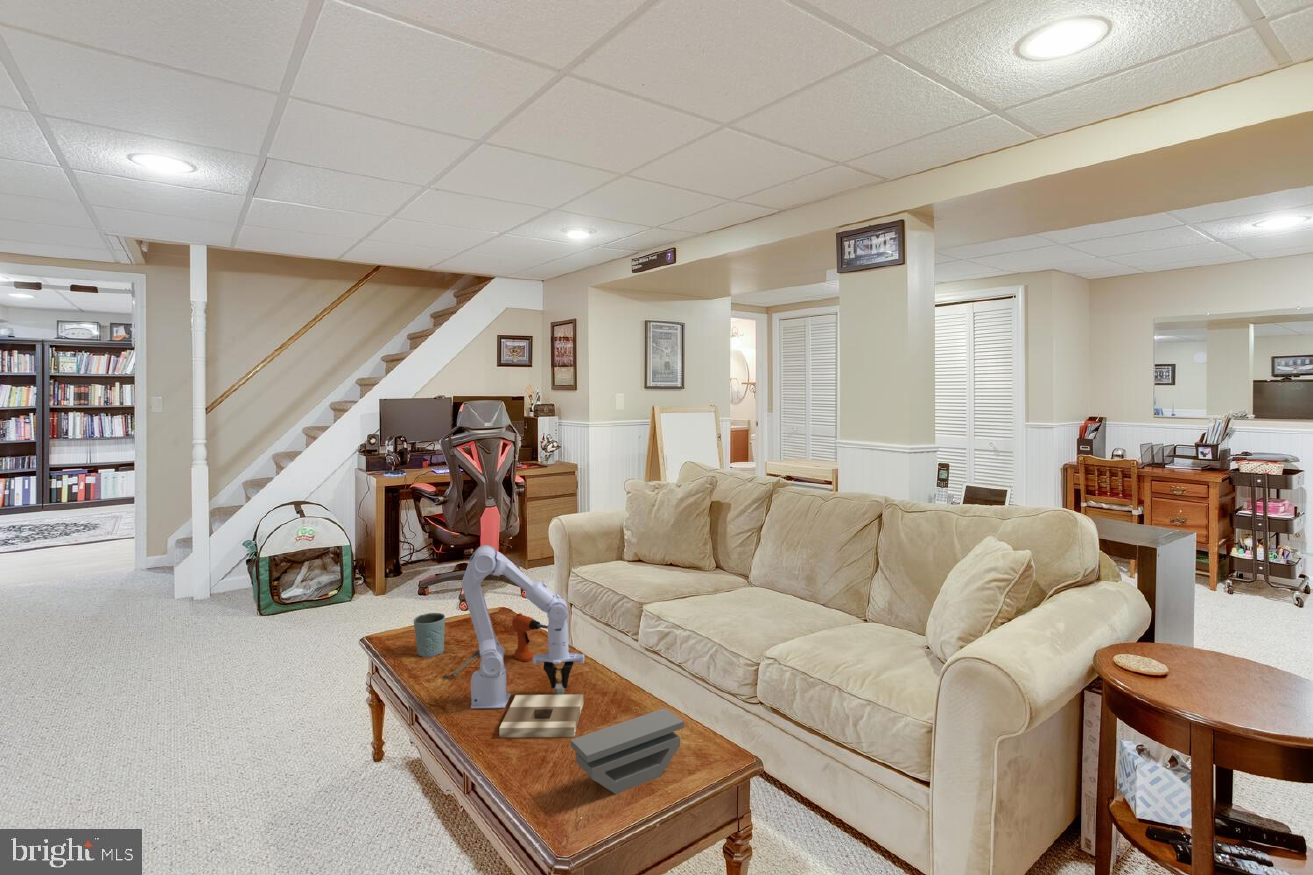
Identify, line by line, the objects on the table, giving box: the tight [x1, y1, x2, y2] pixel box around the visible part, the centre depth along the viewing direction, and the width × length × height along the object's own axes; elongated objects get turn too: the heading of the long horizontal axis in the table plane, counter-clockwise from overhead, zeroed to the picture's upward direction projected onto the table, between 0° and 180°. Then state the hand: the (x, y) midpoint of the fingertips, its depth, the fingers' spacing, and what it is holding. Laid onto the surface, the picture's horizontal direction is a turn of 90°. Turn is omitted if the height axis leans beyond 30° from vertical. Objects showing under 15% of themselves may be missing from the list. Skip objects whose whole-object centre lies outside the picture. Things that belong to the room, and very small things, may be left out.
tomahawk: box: [442, 649, 480, 681], centre depth 211 cm, size 21×7×1 cm, turn 166°
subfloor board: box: [498, 693, 585, 738], centre depth 176 cm, size 19×18×2 cm
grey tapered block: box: [570, 708, 685, 795], centre depth 149 cm, size 25×8×11 cm, turn 123°
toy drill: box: [511, 612, 548, 662], centre depth 213 cm, size 5×19×15 cm, turn 46°
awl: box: [553, 665, 566, 695], centre depth 189 cm, size 3×3×8 cm
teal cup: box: [413, 612, 446, 658], centre depth 222 cm, size 10×10×12 cm
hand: (559, 686), depth 190 cm, fingers closed on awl, 3 cm apart
